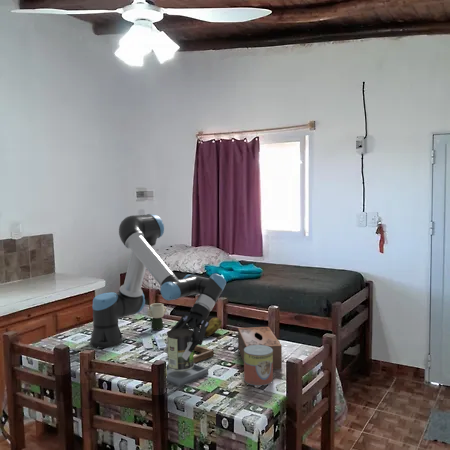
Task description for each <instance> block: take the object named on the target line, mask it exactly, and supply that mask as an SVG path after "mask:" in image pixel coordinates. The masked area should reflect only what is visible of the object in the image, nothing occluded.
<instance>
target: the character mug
mask: <svg viewBox="0 0 450 450" xmlns="http://www.w3.org/2000/svg"><path fill="white" fill-rule="evenodd" d="M166 313H167V307H166V306H164V303H160V302H156V303H151V304H150V305H149V309H147V316H148V317H150V318H152V320H151V329H153V330H162V329H164V322H163V317H164V315H165V314H166Z"/></svg>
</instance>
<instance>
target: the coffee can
mask: <svg viewBox="0 0 450 450" xmlns="http://www.w3.org/2000/svg"><path fill="white" fill-rule="evenodd" d="M166 335H167V342H168V354H167V362H168V363H167V364H168V368H169V369H170V370H172V371H187V370H190V369H192V368H193V367H194V364H195V363H194V362H193V357H194V351H193V352H191V354H190V356H189V357H188V359H187V360H185V359H184V358H183V357H182V355H183V353H184V352H185V350H186V348H187V346H188V345H189V343H190V342H192V339H193V330H192V329H191V328H189V329H184V328H180V329H173V330H171V329H170V330H168V331H167V332H166ZM192 343H193V342H192Z"/></svg>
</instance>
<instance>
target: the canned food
mask: <svg viewBox="0 0 450 450" xmlns="http://www.w3.org/2000/svg"><path fill="white" fill-rule="evenodd" d="M243 375H244V376H243V382H245V383H246V384H248V385H250V386H257V387H261V386H262V385H264V386H268V385H270V384H272V383H273V382H274V377H273V376H274V369H273V349H272V348H271V347H269V346H265V345H250V346H247V347H245V348H244V362H243ZM272 381H273V382H272ZM271 382H272V383H271ZM267 384H268V385H267ZM262 387H263V386H262Z"/></svg>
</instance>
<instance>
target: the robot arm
mask: <svg viewBox="0 0 450 450" xmlns="http://www.w3.org/2000/svg"><path fill="white" fill-rule="evenodd" d="M164 232H165V223H163V220H162V218H161V216H159V215H157V214H151V213H148V214H139V215H137V214H136V215H129V216H126V217H125V218H124V219H123V220H122V221H121V222H120V224H119V225H118V235H119V238H120V241H121V243H122V244H123V245H124V246H125V248H126V249H129V250H131V253H130V258H129V261H128V265H127V269H126V270H127V271H126V273H125V279H124V283H123V284H122V285H121V286H119V290H118V293H116V292H113V291H112V292H111V291H110V292H103V293H100V294H97V295H95V297H93V299H92V306H91V307H92V321H93V322H92V324H93V329H92V333H91V336H90V340H89V344H90V346H91V347H94V348H99V349H102V348H103V349H104V348H112V347H117V346H119V345H121V344H122V343H123V335H122V333H121V332H122V331H121V329H120V326H119V319H121V318H124V317H129V316H133V315H136V314H138V313H140V312H142V310H144V308H145V305H146V299H145V294H144V292H143V289H142V285H143V282H144V281H143V280H144V277H145V273H146V270H147V271H148V272H149V274H151V276H152V277H153V278H154V279H155V281H156V282H157V283H158V284H159V286H160V288H159V289H160V295H161V297H162V298H163V299H164V300H166V301H174V300H177V299H180V298H184V297H188V296H191V295H192V296H193V295H198V297H197V298H196V301H194V302H195V303H194V304H193V305H192V307H191V309H190V314H188V315H186V314H182V315H181V318H180V319H179V320H178V321H177V322H176V323H175V325H173V327H172V328H171V329H170V330H173V329H180V328H184V329H193V330H192V331H193V339H192V342H193V343H192V342H190V343H189V345H188V346H187V348H186V350H185V352H184V353H183V355H182V357H183V358H184V359H185V360H187V359H188V357H189V356H190V354H191V352H193V353H194V349H195V347H196V346H197V345H199V346H202V345H203V342H204V340H205V339H204V338H205V332H206V329H207V327H208V325H209V323H208V322H209V321H207V319H208V317H209V316H210V312H212V311H213V309H214V306H215V305H216V303H217V301H218V300H219V297H220V296H221V294H223V291H224V289H225V287H226V284H227V281H226V279H225V278H224V277H223V275H220V274H218V273H212V274H211V275H210V276H209V278H208V277H203V276H199V275H196V274H189V273H188V274H186V275H185V276H184V277H183V278H180V279H179V278H178V276H176V274H175V273H174V272H173V271H172V270H171V268H170V267H169V266H168V265H167V263H166V262H165V261H164V259H162V257H160V255H159V254H158V253H157V252H156V251H155V249H154V248H153V247H155V245H156V243H157V240H158V239H160V238H161V237H162V236H163V235H164ZM163 352H165V353H166V355H168V341H167V343H166V345H165V346H164V349H163Z"/></svg>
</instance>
